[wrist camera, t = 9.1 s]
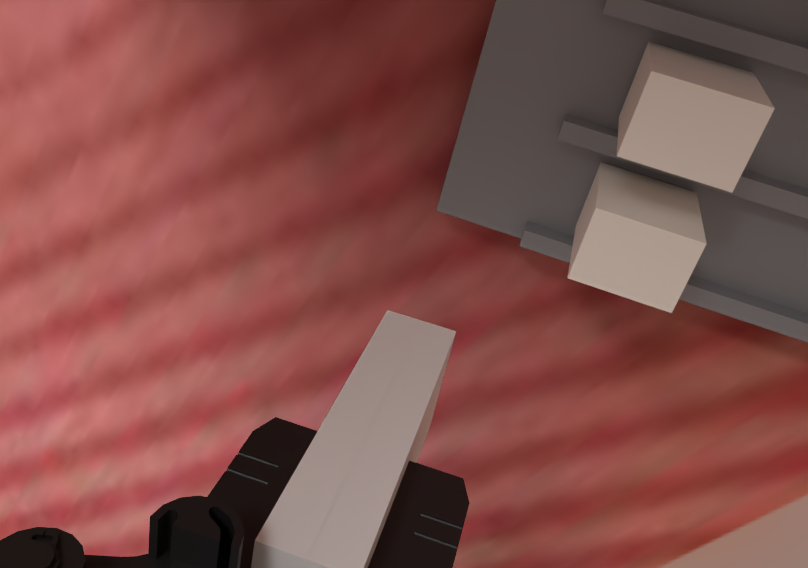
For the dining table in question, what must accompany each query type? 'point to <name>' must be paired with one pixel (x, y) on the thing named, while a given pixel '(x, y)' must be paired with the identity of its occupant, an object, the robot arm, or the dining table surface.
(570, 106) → the switch board
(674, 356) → the dining table surface
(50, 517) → the dining table surface
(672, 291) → the tab
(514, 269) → the dining table surface
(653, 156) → the tab
